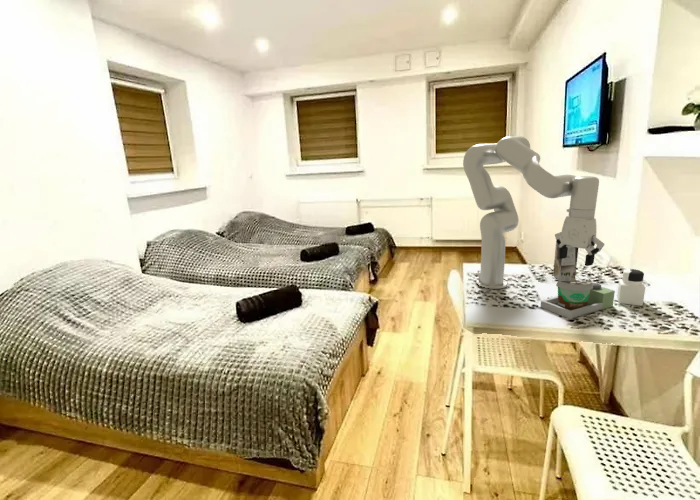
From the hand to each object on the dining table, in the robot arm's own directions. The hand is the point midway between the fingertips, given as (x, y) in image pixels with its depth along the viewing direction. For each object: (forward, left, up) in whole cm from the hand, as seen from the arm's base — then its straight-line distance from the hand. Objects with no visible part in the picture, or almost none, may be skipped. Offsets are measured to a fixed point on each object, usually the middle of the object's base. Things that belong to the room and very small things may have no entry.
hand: (575, 261), depth 132 cm
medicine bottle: (+6, +23, -18) cm, 30 cm away
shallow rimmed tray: (0, +3, -17) cm, 18 cm away
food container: (+2, 0, -17) cm, 17 cm away
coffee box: (-23, +26, -18) cm, 39 cm away
